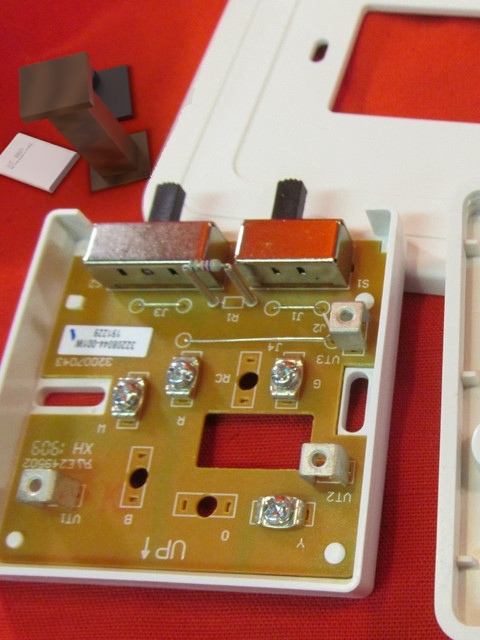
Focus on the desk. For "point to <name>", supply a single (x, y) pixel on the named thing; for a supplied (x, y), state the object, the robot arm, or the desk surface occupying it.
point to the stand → (83, 120)
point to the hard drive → (36, 162)
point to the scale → (114, 90)
